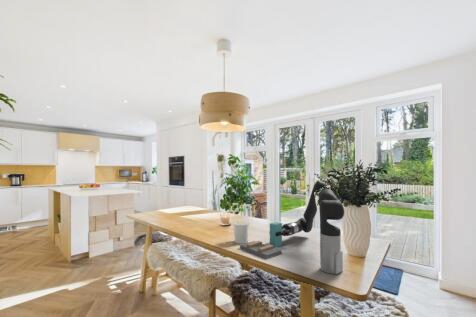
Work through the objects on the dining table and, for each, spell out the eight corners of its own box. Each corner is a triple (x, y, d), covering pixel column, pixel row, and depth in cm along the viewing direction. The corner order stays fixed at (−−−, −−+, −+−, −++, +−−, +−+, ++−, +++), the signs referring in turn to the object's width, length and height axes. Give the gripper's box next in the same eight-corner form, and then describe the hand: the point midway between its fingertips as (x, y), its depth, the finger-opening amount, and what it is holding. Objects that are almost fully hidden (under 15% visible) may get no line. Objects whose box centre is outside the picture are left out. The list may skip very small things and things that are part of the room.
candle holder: (231, 240, 163) (231, 222, 164) (245, 238, 167) (245, 221, 167) (236, 244, 154) (236, 225, 154) (251, 243, 158) (251, 224, 158)
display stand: (281, 253, 139) (281, 247, 139) (267, 259, 131) (267, 252, 131) (254, 244, 156) (254, 238, 156) (240, 248, 148) (240, 242, 148)
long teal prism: (281, 245, 153) (281, 223, 153) (275, 247, 149) (275, 224, 149) (276, 243, 156) (276, 221, 157) (269, 246, 152) (269, 223, 152)
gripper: (281, 221, 168) (264, 225, 156) (299, 225, 157) (282, 229, 146) (281, 232, 167) (264, 237, 156) (299, 237, 156) (282, 242, 145)
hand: (273, 233), depth 151 cm, fingers closed on long teal prism, 4 cm apart
